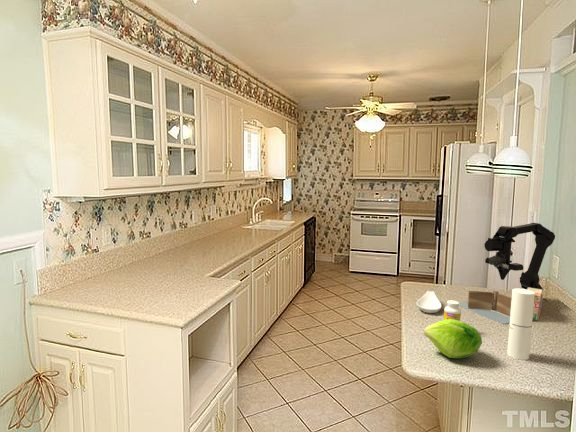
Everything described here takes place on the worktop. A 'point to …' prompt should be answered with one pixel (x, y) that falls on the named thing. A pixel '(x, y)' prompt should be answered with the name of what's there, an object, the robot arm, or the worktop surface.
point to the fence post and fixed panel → (501, 303)
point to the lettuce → (454, 338)
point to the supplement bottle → (452, 310)
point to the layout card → (488, 314)
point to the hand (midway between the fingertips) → (502, 279)
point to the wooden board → (480, 300)
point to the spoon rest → (429, 303)
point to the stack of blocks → (537, 302)
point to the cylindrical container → (520, 323)
